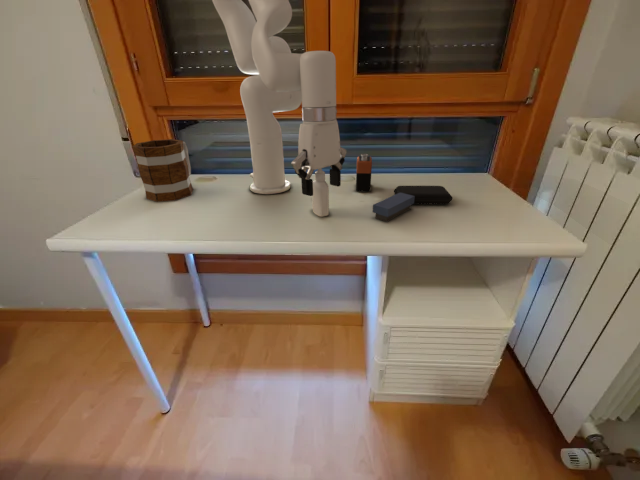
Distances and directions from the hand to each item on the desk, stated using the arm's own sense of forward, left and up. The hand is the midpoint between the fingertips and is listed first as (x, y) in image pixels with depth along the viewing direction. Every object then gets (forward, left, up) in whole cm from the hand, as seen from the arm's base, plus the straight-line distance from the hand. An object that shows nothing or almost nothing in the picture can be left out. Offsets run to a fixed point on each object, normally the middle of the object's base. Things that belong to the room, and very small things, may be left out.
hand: (321, 189), depth 78 cm
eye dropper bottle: (-1, 0, -7) cm, 7 cm away
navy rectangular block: (+13, +12, -6) cm, 19 cm away
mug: (-47, -17, -7) cm, 50 cm away
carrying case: (+13, +26, -7) cm, 30 cm away
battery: (-5, +23, -7) cm, 24 cm away
